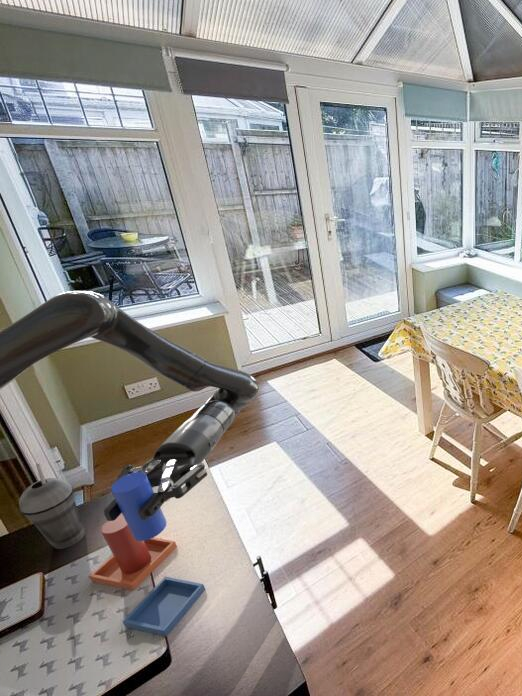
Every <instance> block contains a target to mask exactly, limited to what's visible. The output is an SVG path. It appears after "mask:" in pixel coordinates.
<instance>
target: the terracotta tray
mask: <svg viewBox="0 0 522 696" xmlns="http://www.w3.org/2000/svg"><path fill="white" fill-rule="evenodd" d="M144 542H145V544H146V546H147V549H148V551H149V553H150V555H151V558H150V561H149V562H148V564H147V565H146V566H145V567H143V568H142V569H140V570H139V571H137V572H134V573H131V574H124V573H122V571H121V569H120V567H119V565H118V563H117V561H116V559H115V557H114V556H113V554H112V555H111V556H110V557H109V558H108V559H106V560H105V562H103V563H102V564H101V565H100V566H99V567H98V568H97V569H96V570H94V571H93V572H92V573H91V574H90V575H88V576H89V578H90V581H91V582H92V583H96V584H100V585H101V584H102V585H105V586H111V587H115V588H119V589H125V590H129V591H135V590H136V589H137V588H138V587H139V586H140V585H141V584H142V583H143V582H144V581H145V580H146V579H147V578H148V577H149V576H150V575H151V574H152V573H153V572H154V571H155V570H156V569H157V568H158V567H159V566H160V565H161V564H162V563H163V562H164V560H166V559H167V557H169V556H170V555H171V554H172V553H173V551H174V550H176V549H177V548H178V545H177V543H176V541H174V540H169V539H163V538H159V537H153V538H151V539H149V540H145V541H144Z"/></svg>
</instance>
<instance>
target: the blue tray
mask: <svg viewBox="0 0 522 696" xmlns="http://www.w3.org/2000/svg"><path fill="white" fill-rule="evenodd" d="M205 591H206V587H205V584H204V583H201V582H196V581H195V582H194V581H190V580H185V579H180V578H175V577H170V576H164V577H163V578H162V579H161V580H160V581H159V582H158V583H157V584H156V586H154V588H153V589H152V590H151V591H150V592H149V593H148V594H147V595H146V596H145V597H144V598H143V599H142V600H141V601H140V602H139V604H138V605H136V607H135V608H134V609H133V610H132V611H131V612H130V613H129V614H128V615H127V616H126V617H125V618H124V619H123V621H122V624H123V626H124V628H126V629H129V630H135V631H139V632H144V633H147V634H153V635H157V636H161V637H164V638H165V637H168V635H169V634H170V633H171V632H172V631H173V630H174V629H175V627H176V626H177V625H178V624H179V622H180V621H181V620H182V618H183V617H184V616H185V615H186V614H187V613H188V611H190V609H191V608H192V607H193V605H194V604H195V603H196V602H197V601H198V599H200V597H201V595H202V594H203V593H204V592H205Z"/></svg>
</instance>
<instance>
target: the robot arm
mask: <svg viewBox="0 0 522 696" xmlns="http://www.w3.org/2000/svg"><path fill="white" fill-rule="evenodd" d="M88 338H91V339H94V340H96V341H99V342H103V343H106V344H108V345H109V346H113V347H115V348H117V349H119V350H121V351H123V352H125V353H126V354H128V355H129V356H132V357H133V358H135V359H136V360H137V361H139V362H140V363H142V364H143V365H144V366H145V367H147V368H149V369H150V370H152V371H153V372H155V373H156V374H158V375H159V376H160V377H162V378H164V379H166V380H168V381H170V382H172V383H174V384H176V385H179V386H180V387H183V388H185V389H187V390H189V391H191V392H195V393H196V392H200V391H203V390H204V389H205V388H209V387H210V388H211V387H212V388H217V389H216V391H215V392H214V393H213V394H212V395H211V396H209V398H208V399H207V400H206V401H205V403H204V404H203V405H201V406H200V407H199V408H198V409H197V410H196V411H194V413H193V414H192V415H191V416H190V417H189V418H188V419H187V420H185V421H184V422H183V423H181V424H180V425H179V426H178V427H177V428H176V429H175V430H174V431H173V432H172V433H171V434H170V436H168V437H167V438H166V439H165V440H164V441H163V442H162V444H160V445H159V446H158V448H157V449H156V451H155V454H154V456H153V457H152V458H151V459H150V460H149V461H147V462H145V463H144V464H143V465H142V466H137V467H133V465H132V464H127V465H126V466H124V467H123V468H122V470H121V471H120V473H119V474H118V476H117V478H116V480H115V481H114V483H115V482H116V481H117V480H118V479H120V478H122V477H123V476H126V475H128V474H131V473H135V472H143V473H145V474H146V475H147V478H148V480H149V482H150V485H151V487H152V489H153V488H155V487H158V488H157V492H154V493H153V494H152V495H151V497H150V498H149V499H148V500H147V501H146V502H145V503H144V505H143V506H142V507H141V508H140V509H139V511H138V514H139V516H140V518H141V520H147V519H149V517H150V516H152V515H154V514H155V513H156V512H157V510H158V509H159V508H161V507H162V506H163V505H164V503H165V502H168V501H170V500H171V499H173V498H175V499H178V500H179V499H181V498H183V497H184V496H185V495H186V494H187V493H189V492H190V491H191V490H192V489H193V488H194V487H196V486H197V485H198V484H199V483H200V482H201V481H203V480H204V479H205V478H206V477H207V476H208V471H207V468H206V465H205V463H204V460H205V459H206V458H207V457H208V455H210V453H211V452H212V450H213V449H214V448H215V447H216V445H217V444H218V443H219V441H220V439H221V438H222V436H223V435H224V434H225V433H226V431H227V430H228V429H229V428H230V426H231V425H232V424H233V422H234V420H235V418H236V417H237V415H238V414H240V412H241V411H242V410H244V408H245V407H246V406H248V404H250V402H251V401H253V400H254V399H255V398H256V396H257V395H258V394H259V392H260V384H259V382H258V381H257V379H256V378H255V376H252V375H251V374H250V373H248V372H246V371H242V370H239V369H236V368H233V367H228V366H225V365H222V364H217V363H213V362H211V361H209V360H208V359H206V358H204V357H202V356H200V355H199V354H197V353H195V352H193V351H191V350H189V349H187V348H186V347H184V346H181V345H180V344H178V343H176V342H174V341H171V340H170V339H168V338H167V337H164V336H163V335H160V334H159V333H157V332H155V331H153V330H151V329H150V328H149V327H147V326H145V325H143V324H142V323H141V322H140V321H138V320H136V319H135V318H133V317H132V316H131V315H129V314H128V313H126V312H125V311H124V310H123V309H121V308H120V307H118V306H117V305H116V304H115V303H114V302H112V301H111V300H110V299H109V298H107V297H106V296H104V295H103V294H102V293H101V294H100V293H98V292H94V291H89V290H73V291H66V292H62V293H59V294H57V295H54V296H53V297H50V298H49V299H48V300H46V301H44V302H43V303H42V304H40V305H39V306H37V307H36V308H35V309H33V310H31V311H30V312H28V313H27V314H25V315H23V316H22V317H21V318H19V319H17V320H16V321H13V323H11V324H10V325H8V326H5V327H4V328H3V329H1V330H0V391H1V390H3V389H4V388H5V387H6V386H7V385H9V384H10V383H12V382H13V381H14V380H16V379H17V378H18V377H19V376H21V375H22V374H23V373H24V372H26V371H27V370H28V369H29V368H31V367H32V366H33V365H35V364H36V363H38V362H40V361H41V360H44V359H45V358H47V357H48V356H49V357H50V356H51V355H53V354H55V353H57V352H59V351H61V350H63V349H65V348H68V347H69V346H71V345H73V344H77V343H78V342H80V341H84V340H87V339H88ZM182 486H183V487H182ZM103 512H104V513H103V514H104V516H105V518H106V521H114V520H116V518H117V517H118V516H119V515H120V514H122V512H121V510H120V508H119V506H118V504H117V502H116V500H115V498H114V499H113V500H112V501H111V502H110V503H109V504H108V505H107V506H106V507H105V509H104V510H103Z"/></svg>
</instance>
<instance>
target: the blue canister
mask: <svg viewBox="0 0 522 696" xmlns="http://www.w3.org/2000/svg"><path fill="white" fill-rule="evenodd" d="M115 481H116V480H115ZM115 481H114V482H113V483H112V485H111V487H110V492H111V494H112V496H113V498H114V499H115V500H116V502H117V504H118V506H119V508H120V510H121V512H122V513H121V514H123V516H124V518H125V520H126V522H127V524H128V526H129V528H130V530H131V533H132V535H133V537H134V539H135V540H137V541H145V540H149V539H151V538H153V537H154V538H156V537H157V536H158V535H160V534H161V533H163V531H164V530H165V529H166V527H167V524H168V522H167V519H166V517H165V514H164V513H163V510H162V508H161V507H160V508H159V509H158V510H157V512H156V513H155V514H154V515H152V516H150V517H149V519H147V520H141V518H140V516H139V514H138V511H139V509H140V508H141V507H142V506H143V505H144V503H145V502H146V501H147V500H148V499H149V498H150V497H151V495H152V494H153V493H155V492H154V489H153V488H152V487H151V485H150V482H149V480H148V478H147V475H146V474H145V473H143V472H135V473H131V474H128V475H126V476H123V477H122V478H120V479H118V480H117V481H116V482H115Z"/></svg>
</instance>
